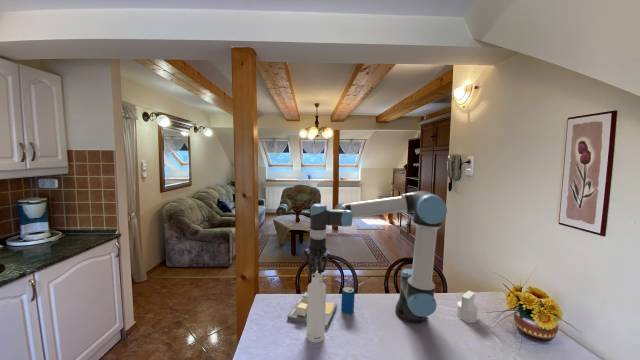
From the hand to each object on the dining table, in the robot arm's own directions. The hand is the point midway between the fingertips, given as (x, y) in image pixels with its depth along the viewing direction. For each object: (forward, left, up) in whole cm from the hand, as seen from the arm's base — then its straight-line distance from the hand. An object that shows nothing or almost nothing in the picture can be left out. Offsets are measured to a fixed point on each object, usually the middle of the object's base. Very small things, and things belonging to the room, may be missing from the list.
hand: (316, 285), depth 124 cm
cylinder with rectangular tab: (-71, -30, -18) cm, 79 cm away
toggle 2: (+8, -10, -16) cm, 20 cm away
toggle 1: (+7, 0, -16) cm, 17 cm away
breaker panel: (+3, -5, -18) cm, 19 cm away
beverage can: (-13, -13, -18) cm, 26 cm away
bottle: (-3, +10, -18) cm, 21 cm away
